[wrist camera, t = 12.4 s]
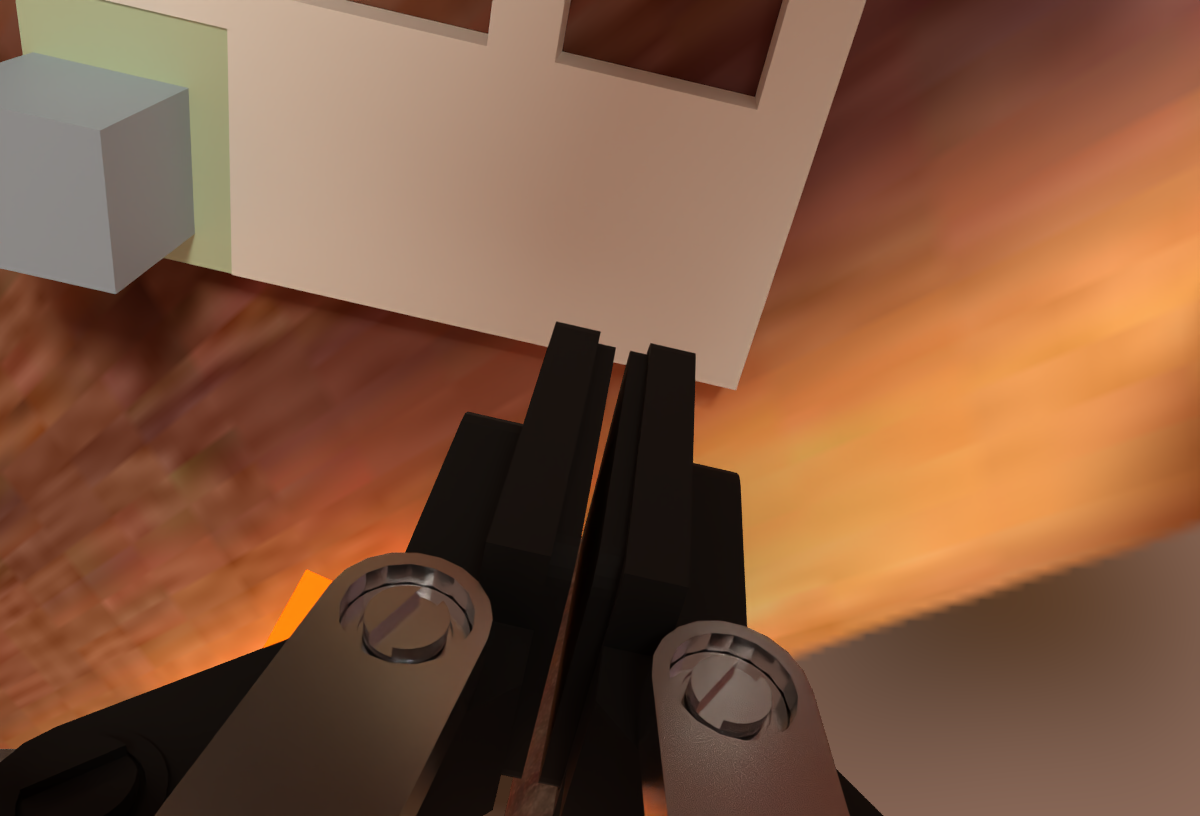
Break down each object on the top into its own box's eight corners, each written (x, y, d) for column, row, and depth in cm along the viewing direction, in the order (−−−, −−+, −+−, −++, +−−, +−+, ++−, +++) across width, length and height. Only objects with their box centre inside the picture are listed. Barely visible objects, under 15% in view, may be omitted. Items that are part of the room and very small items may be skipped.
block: (32, 52, 35) (-83, 88, 30) (188, 87, 35) (99, 130, 30) (52, 201, 38) (-49, 257, 33) (194, 233, 38) (115, 294, 33)
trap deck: (5, -362, 30) (-37, -374, 28) (902, -144, 30) (913, -143, 29) (73, 215, 40) (45, 232, 39) (734, 367, 41) (736, 390, 39)
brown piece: (561, 617, 50) (486, 1012, 33) (551, 511, 46) (460, 897, 30) (701, 622, 49) (697, 1030, 32) (702, 514, 46) (698, 914, 29)
